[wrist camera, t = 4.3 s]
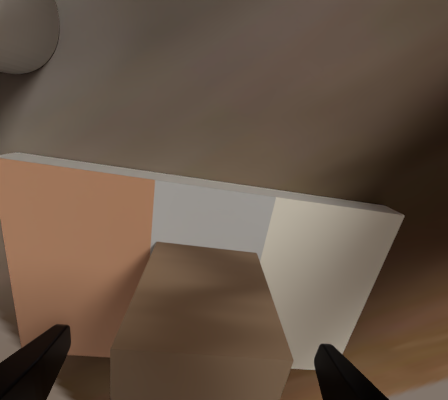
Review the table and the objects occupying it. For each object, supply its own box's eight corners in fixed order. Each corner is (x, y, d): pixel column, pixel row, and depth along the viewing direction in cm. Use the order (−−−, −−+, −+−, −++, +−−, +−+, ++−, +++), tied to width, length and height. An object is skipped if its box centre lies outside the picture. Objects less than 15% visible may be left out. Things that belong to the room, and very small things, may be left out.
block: (256, 252, 11) (293, 360, 6) (238, 327, 12) (256, 461, 7) (156, 241, 10) (110, 348, 5) (150, 320, 12) (109, 459, 7)
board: (385, 205, 12) (404, 215, 10) (324, 350, 15) (334, 370, 14) (16, 152, 10) (-10, 156, 9) (39, 330, 13) (22, 352, 12)
